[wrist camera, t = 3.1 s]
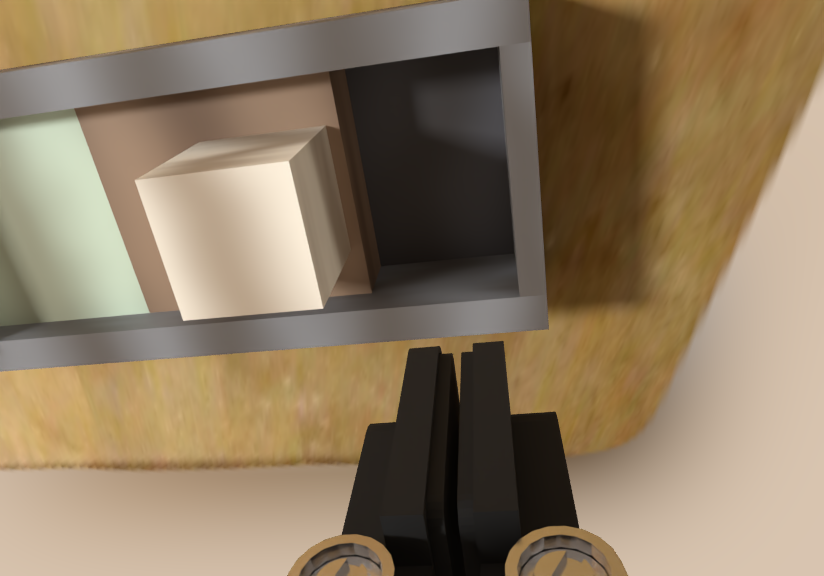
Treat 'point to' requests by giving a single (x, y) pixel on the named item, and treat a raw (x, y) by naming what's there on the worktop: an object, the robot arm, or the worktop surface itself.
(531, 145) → the tray
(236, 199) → the block
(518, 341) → the worktop surface
